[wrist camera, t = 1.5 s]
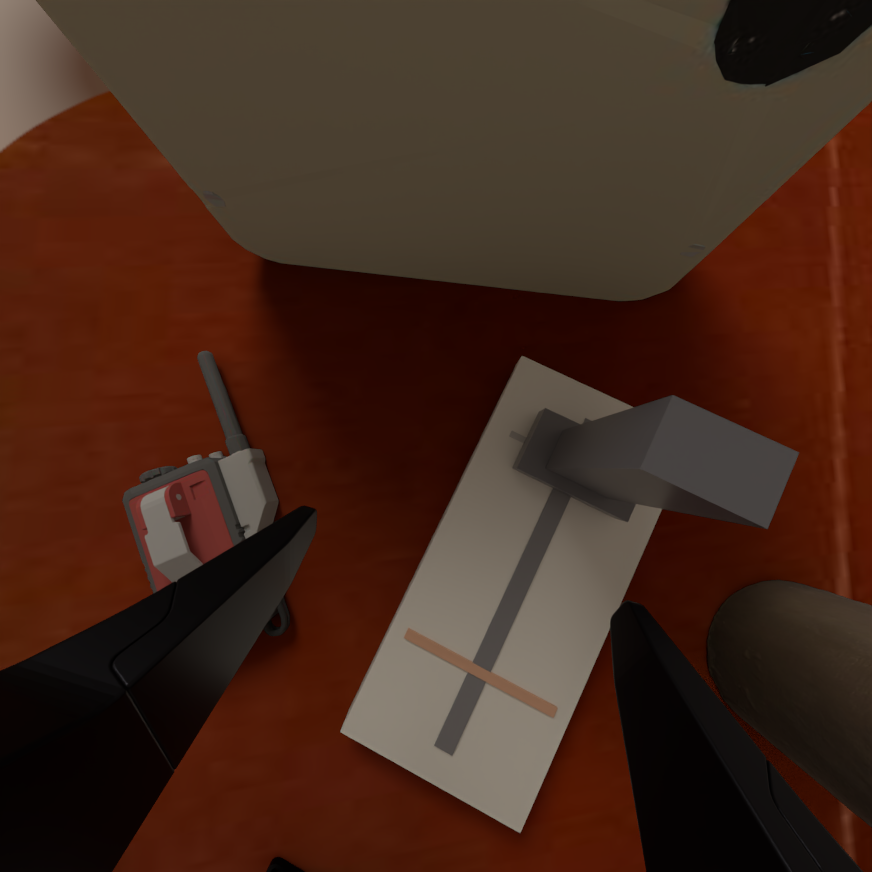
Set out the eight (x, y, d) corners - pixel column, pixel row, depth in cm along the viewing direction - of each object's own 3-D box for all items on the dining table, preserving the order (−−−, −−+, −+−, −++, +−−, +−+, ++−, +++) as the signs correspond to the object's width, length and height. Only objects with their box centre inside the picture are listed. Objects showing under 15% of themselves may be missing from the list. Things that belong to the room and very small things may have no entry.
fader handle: (615, 518, 22) (807, 576, 10) (512, 468, 22) (583, 469, 11) (641, 460, 22) (856, 452, 10) (538, 411, 22) (636, 352, 11)
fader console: (513, 800, 22) (521, 836, 20) (349, 709, 23) (339, 733, 21) (673, 438, 24) (696, 435, 22) (515, 364, 25) (522, 354, 23)
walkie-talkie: (325, 609, 24) (229, 352, 26) (299, 640, 20) (185, 328, 22) (207, 660, 24) (120, 397, 26) (154, 702, 20) (54, 383, 22)
